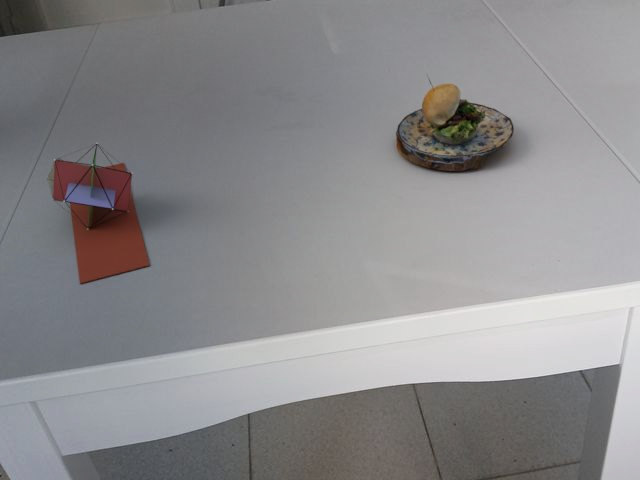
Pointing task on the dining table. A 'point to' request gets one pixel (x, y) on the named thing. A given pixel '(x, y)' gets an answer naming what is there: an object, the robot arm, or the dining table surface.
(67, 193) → the geometric puzzle
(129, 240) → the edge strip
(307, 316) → the dining table surface
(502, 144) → the burger
